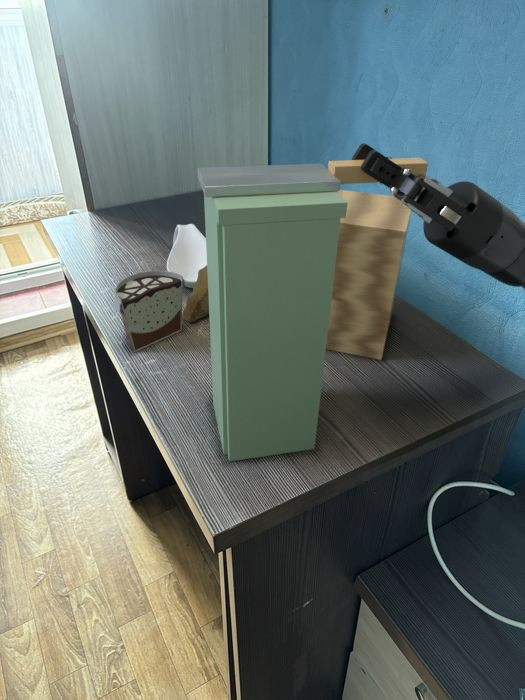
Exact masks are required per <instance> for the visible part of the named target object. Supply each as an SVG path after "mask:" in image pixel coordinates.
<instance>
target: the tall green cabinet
mask: <svg viewBox="0 0 525 700" xmlns="http://www.w3.org/2000/svg"><path fill="white" fill-rule="evenodd" d="M203 202H204V205H203V206H204V224H205V225H204V227H205V238H206V251H207V274H208V296H209V314H208V315H209V337H210V339H209V340H210V362H211V384H212V385H211V386H212V403H213V404H212V405H213V410H214V411H213V412H214V415H215V420H216V424H217V429H218V434H219V439H220V444H221V449H222V453H223V455H225V456H226V455H227V458H228V461H229V462H235V461H243V460H247V459H248V460H249V459H255V458H263V457H271V456H275V455H276V456H277V455H282V454H290V453H297V452H305V451H310V450H315V449H316V441H317V431H318V423H319V422H318V421H319V414H320V413H319V412H320V403H321V398H322V397H321V395H322V389H323V386H322V385H323V379H324V369H325V360H326V351H327V349H326V344H327V335H328V326H329V317H330V308H331V300H332V291H333V282H334V273H335V264H336V255H337V247H338V238H339V229H340V220H341V218H346V211H347V201H346V200H345V199H344V198H343V197H342V196H341V195H340V194H339V193H338V192H337V191H330V192H309V193H289V194H268V195H247V196H226V197H205V195H204V194H203Z"/></svg>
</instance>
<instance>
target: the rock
mask: <svg viewBox="0 0 525 700" xmlns="http://www.w3.org/2000/svg"><path fill="white" fill-rule="evenodd" d="M207 315H209V296H208V274H207V265H206V266H205V267H204V268H202V269H200V270H199V272H198V278H197V281H196V283H195V286H194V288H192V291H191V293H190V294H189V295H188V297H187V299H186V304H185V307H184V309H183V310H182V319H184V320H185V321H186V322H188V323H194V322H196V321H198V320H200V319H201V318H204V317H206V316H207Z"/></svg>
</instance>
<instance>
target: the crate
mask: <svg viewBox="0 0 525 700" xmlns="http://www.w3.org/2000/svg"><path fill="white" fill-rule="evenodd" d="M337 192H338V193H339V194H340V195H341V196H342V197H343V198H344V199H345V200H346V201H347V211H346V218H341V220H340V229H339V238H338V247H337V255H336V264H335V273H334V282H333V291H332V300H331V308H330V317H329V326H328V335H327V344H326V350H329V351H333V352H339V353H342V354H343V353H344V354H349V355H353V356H359V357H364V358H368V359H369V358H370V359H374V360H380V361H382V360H383V357H384V356H383V355H384V351H385V347H386V342H387V337H388V333H389V329H390V324H391V320H392V316H393V311H394V310H393V309H394V305H395V299H396V293H397V290H398V289H397V288H398V284H399V279H400V274H401V268H402V263H403V257H404V253H405V247H406V243H407V237H408V233H409V226H410V223H411V216H412V212H413V211H412V210H410V209H409V208H408V207H407V206H405V205H404V204H403V203H402V201H400V200H399V199H397V198H395V197H394V196H393V195H387V194H380V193H379V194H378V193H371V192H362V191H356V190H355V191H354V190H345V189H340V190H339V191H337Z"/></svg>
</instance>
